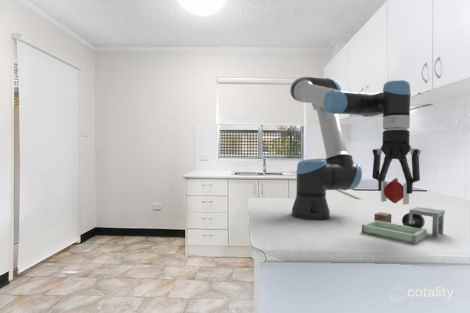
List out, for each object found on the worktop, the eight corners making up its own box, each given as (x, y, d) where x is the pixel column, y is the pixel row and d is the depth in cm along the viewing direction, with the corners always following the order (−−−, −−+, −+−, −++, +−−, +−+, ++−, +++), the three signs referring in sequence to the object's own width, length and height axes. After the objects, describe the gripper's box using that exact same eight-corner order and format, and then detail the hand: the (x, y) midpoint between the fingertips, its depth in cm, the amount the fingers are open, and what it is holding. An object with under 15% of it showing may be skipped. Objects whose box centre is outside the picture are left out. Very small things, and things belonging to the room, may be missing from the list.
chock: (374, 224, 108) (374, 213, 108) (380, 222, 111) (380, 212, 111) (385, 226, 105) (385, 215, 105) (391, 224, 108) (391, 214, 108)
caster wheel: (399, 230, 100) (399, 208, 100) (407, 226, 106) (408, 205, 106) (437, 237, 92) (437, 213, 92) (444, 233, 98) (444, 210, 97)
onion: (387, 204, 92) (387, 178, 92) (381, 201, 97) (382, 177, 97) (407, 205, 91) (408, 179, 90) (401, 202, 96) (401, 177, 96)
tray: (361, 232, 97) (361, 224, 97) (375, 227, 104) (375, 220, 104) (414, 244, 85) (415, 235, 85) (426, 237, 92) (426, 229, 92)
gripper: (361, 130, 98) (360, 199, 98) (426, 127, 84) (424, 208, 84) (371, 132, 103) (369, 197, 103) (434, 129, 89) (432, 205, 89)
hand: (394, 202), depth 94 cm, fingers closed on onion, 6 cm apart
